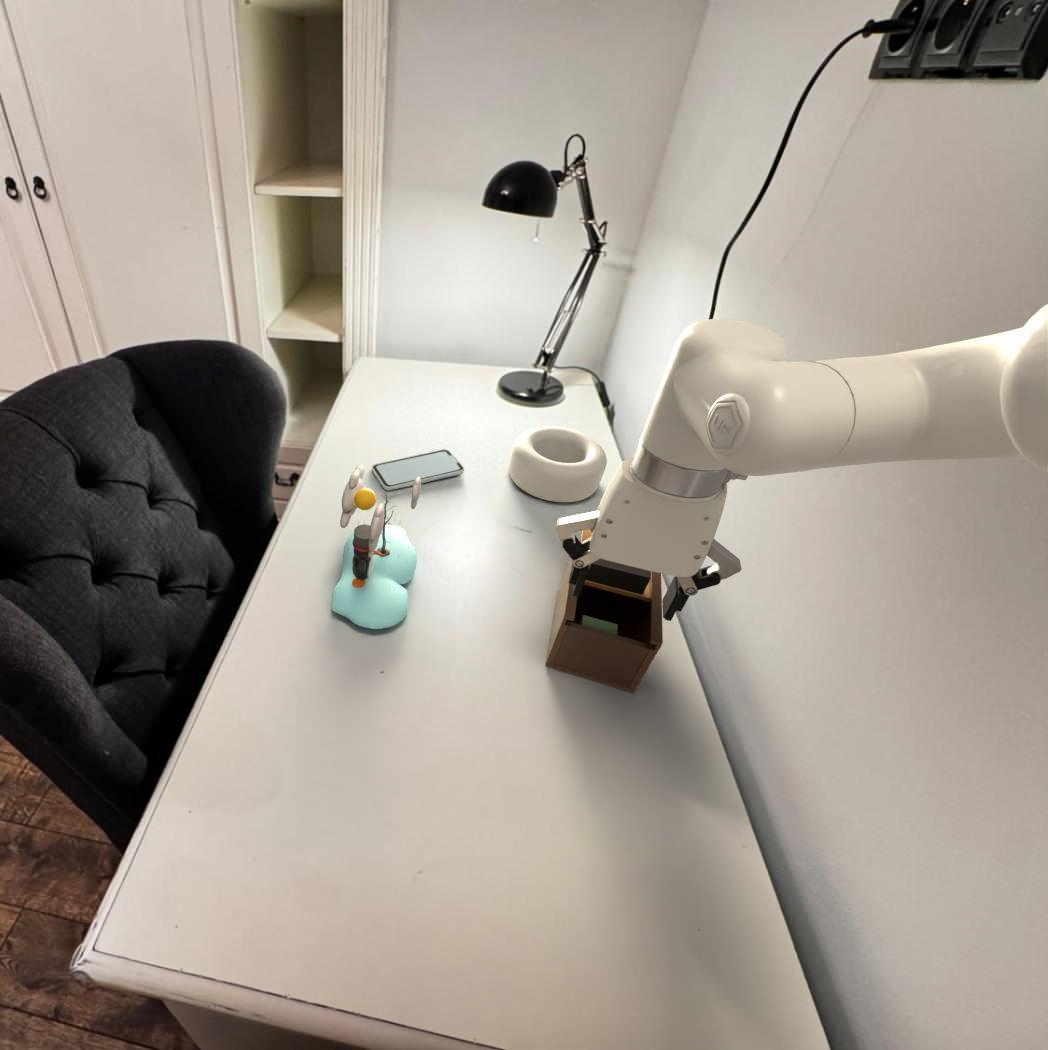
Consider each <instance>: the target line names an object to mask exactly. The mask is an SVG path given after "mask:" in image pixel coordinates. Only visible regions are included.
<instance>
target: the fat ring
mask: <svg viewBox="0 0 1048 1050" xmlns="http://www.w3.org/2000/svg"><path fill="white" fill-rule="evenodd" d="M607 461H608V459H607V455H606V452H605V450H604V449H603V447H602V446H601V445H600V443H599V442H598V441H596V440H595V439H594V438H592V437H590V436H589V435H587V434H585V433H583V432H581V431H578V430H576V429H572V428H567V427H562V426H552V425H551V426H539V427H535V428H531V429H528V430H526V431H524V432H522V433H521V434H520V435H519V436H518V437H517V438H516V439H515V441H514V443H513V445H512V449H511V454H510V459H509V463H508V473H509V476H510V478H511V479H512V481H513V482H514V484H515V485H516V486H517V487H518V488H519V489H520V490H522V491H523V492H525V493H527V494H529V495H531V496H533V497H534V498H538V499H541V500H544V501H548V502H554V503H574V502H579V501H582V500H586V499H588V498H589V497H591V496H592V495H594V493H596V492H597V490H598V489H599V486H600V484H601V482H602V480H603V479H602V478H603V476H604V473H605V470H606V467H607V463H608V462H607Z"/></svg>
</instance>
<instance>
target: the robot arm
mask: <svg viewBox="0 0 1048 1050" xmlns="http://www.w3.org/2000/svg"><path fill="white" fill-rule="evenodd" d="M787 356H788V346H787V343H786V341H785V340H784V338H783V337H782V336H781V335H780V334H779V333H778V332H776V331H774V330H772V329H770V328H768V327H765V326H764V325H761V324H757V323H755V322H750V321H746V320H739V319H734V318H733V319H732V318H708V319H703V320H699V321H697V322H693V323H692V324H690V325H689V326H688V327H686V328H685V329H684V330H683V331H682V332H681V334H680V335H679V337H678V338H677V340H676V342H675V345H674V348H673V349H672V352H671V355H670V359H669V361H668V364H667V366H666V369H665V371H664V374H663V377H662V380H661V382H660V385H659V387H658V390H657V393H656V396H655V398H654V401H653V405H652V407H651V409H650V412H649V414H648V417H647V420H646V421H645V422H646V423H645V426H644V428H643V431H642V433H641V436H640V439H639V441H638V444H637V447H636V450H635V452H634V454H633V457H627V458H625V459H623V460H622V461H621V463H620V464H619V466H618V467H617V468H616V470H615V472H614V473H613V475H612V477H611V479H610V481H609V483H608V484H607V487H606V489H605V491H604V493H603V495H602V497H601V499H600V502H599V505H598V507H597V509H596V510H595V511H591V512H585V513H580V514H575V515H570V516H566V517H565V516H564V517H561V518H558V519H557V521H556V524H555V531H556V533H557V536H558V538H559V540H560V541H561V544H562V549H563V550H564V551H565V552H566V554H567V555H568V556H569V558H570V557H571V559H572V560H573V561H574V562H573V567H572V570H571V573H570V576H569V582H568V583H570V584H574V587H573V596H576V597H578V596H580V594H581V591H582V589H583V586H584V583H585V580H586V578H587V575H588V572H589V564H591V563H593V562H595V561H597V560H599V559H601V558H602V559H605V560H609V561H613V562H616V563H620V564H624V565H628V566H632V567H637V568H641V569H645V570H649V571H653V572H658V573H661V575H668V576H672V580H671V582H670V584H669V586H668V587H667V590H666V592H665V594H664V596H663V597H662V619H664V620H665V621H668V622H671V621H672V620H673V618H674V616H675V615H676V612H679V613H681V612H682V611H683V609H684V607H685V605H686V603H687V601H688V600H689V598H690V596H691V597H692V596H695V595H697V594H698V592H699V591H701V590H704V589H708V588H711V587H714V586H715V587H716V586H718V585H720V583H721V581H723V580H727V579H729V578H730V577H733V576H734V575H736V574H738V573H740V572H741V571H742V565H741V560H740V558H739V557H737V556H736V555H735V554H734V553H733V552H731V551H730V550H729V549H727V547H725V546H724V545H722V543H720V542H719V541H717V540H716V539H715V536H716V534H717V530H718V528H719V525H720V521H721V519H722V516H723V512H724V510H725V509H724V508H725V504H726V501H727V496H728V495H727V494H728V483H729V482H730V481H735V480H740V481H746V480H747V478H748V477H766V476H767V477H768V476H774V475H782V474H783V475H784V474H790V473H791V474H792V473H801V472H809V471H813V470H820V469H822V470H823V469H829V468H838V467H847V466H858V465H869V464H870V465H871V464H878V463H891V462H892V463H894V462H909V461H910V462H911V461H935V460H936V461H938V460H940V461H941V460H963V459H965V460H967V459H968V460H969V459H973V460H974V459H1025V460H1026V461H1027V462H1028V463H1030V464H1031V465H1032V466H1034V467H1036V468H1038V469H1039V470H1041V471H1043V472H1045V473H1047V474H1048V303H1046V304H1045V305H1044V306H1042V307H1041V308H1039V310H1037V311H1036V313H1034V314H1033V315H1032V316H1031V317H1030V318H1029V319H1028V320H1027V321H1026V322H1025V324H1024V325H1023V326H1022V327H1018V328H1014V329H1011V330H1006V331H1002V332H997V333H994V334H989V335H984V336H979V337H974V338H969V339H964V340H960V341H959V340H958V341H954V342H949V343H944V344H939V345H934V346H928V347H923V348H916V349H912V350H906V351H905V350H904V351H899V352H894V353H887V354H880V355H870V356H855V357H853V356H851V357H841V358H833V359H831V358H830V359H822V360H810V361H809V360H808V361H786V360H787ZM588 529H591V532H592V536H591V537H590V538H588V539H587V540H585V541H583V542H581V540H580V539H579V538H578V536H577V535H576V534H575V533H576V532H582V531H583V530H588ZM707 557H708V558H709V559H711V560H712V561H713V562H714V565H708V566H704V567H702V566H703V564H704V562H705V560H706V558H707Z"/></svg>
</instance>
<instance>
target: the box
mask: <svg viewBox="0 0 1048 1050" xmlns="http://www.w3.org/2000/svg"><path fill="white" fill-rule="evenodd" d="M573 562H574V561H573V560H572V559H571V557H570V556H569V559H568V562H567V565H566V567H565V570H564V572H563V575H562V578H561V582H560V585H559V587H558V590H557V594H556V598H555V604H554V611H553V616H552V623H551V628H550V636H549V640H548V646H547V652H546V659H545V663H544V667H548V668H551V669H554V670H557V671H559V672H560V671H561V672H564V673H567V674H570V675H573V676H576V677H579V678H583V679H586V680H589V681H593V682H596V683H598V684H602V685H605V686H608V687H612V688H615V689H619V690H622V691H624V692H628V693H632V694H634V693H635V692H636V690H637V688H638V686H639V684H640V683H641V681H642V679H644V678H643V677H644V676H645V674H646V672H647V671H648V669H649V667H650V665H651V664H652V662H653V661H654V659H655V658H656V655H657V654H658V652H659V651H660V649H661V647H662V645H663V643H664V640H663V638H664V637H663V604H662V601H663V595H662V594H663V592H662V591H663V590H662V588H663V587H662V573H658V572H653V571H651V579H650V602H648V601H644V600H640V599H637V598H633V597H629V596H625V595H622V594H618V593H614V592H610V591H607V590H603V589H599V588H595V587H591V586H588V585H584V586H583V589H582V591H581V594H580V596H578V597H576V596H573V587H574V584H570V583H568V582H569V576H570V573H571V570H572V567H573ZM582 615H585V616H589V617H592V618H596V619H599V620H603V621H606V622H610V623H614V624H617V625H618V630H617V635H615V634H612V633H608V632H605V631H601V630H598V629H594V628H591V627H587V626H584V625H580V624H579V623H580V620H581V618H582Z"/></svg>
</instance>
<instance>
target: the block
mask: <svg viewBox="0 0 1048 1050" xmlns="http://www.w3.org/2000/svg"><path fill="white" fill-rule="evenodd" d="M579 624H580V625H584V626H587V627H591V628H594V629H598V630H601V631H605V632H608V633H612V634H615V635H617V630H618V625H617V624H614V623H610V622H606V621H603V620H599V619H596V618H592V617H589V616H585V615H582V618H581V620H580V623H579Z"/></svg>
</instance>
